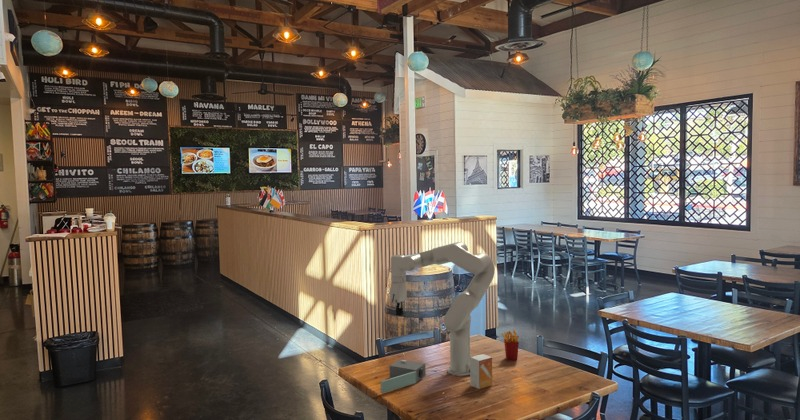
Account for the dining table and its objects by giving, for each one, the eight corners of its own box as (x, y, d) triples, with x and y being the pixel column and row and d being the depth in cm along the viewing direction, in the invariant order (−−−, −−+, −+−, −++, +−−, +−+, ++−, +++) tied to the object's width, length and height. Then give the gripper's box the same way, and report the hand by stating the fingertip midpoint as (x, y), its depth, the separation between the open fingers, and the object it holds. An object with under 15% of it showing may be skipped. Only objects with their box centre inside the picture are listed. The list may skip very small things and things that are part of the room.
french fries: (519, 361, 267) (519, 332, 266) (503, 361, 267) (502, 332, 266) (515, 355, 275) (515, 327, 275) (500, 356, 275) (499, 327, 275)
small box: (479, 389, 232) (478, 360, 231) (469, 385, 237) (469, 357, 236) (492, 385, 236) (492, 357, 235) (483, 381, 241) (482, 353, 241)
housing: (427, 376, 249) (427, 361, 249) (418, 383, 241) (417, 368, 240) (399, 371, 257) (399, 357, 256) (389, 378, 248) (389, 364, 247)
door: (415, 382, 241) (415, 370, 241) (416, 382, 240) (416, 371, 240) (381, 393, 229) (380, 381, 229) (382, 393, 229) (381, 381, 228)
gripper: (399, 276, 274) (400, 311, 275) (384, 281, 261) (385, 317, 262) (412, 277, 270) (412, 312, 271) (398, 282, 257) (398, 319, 258)
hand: (399, 314), depth 266 cm, fingers closed
